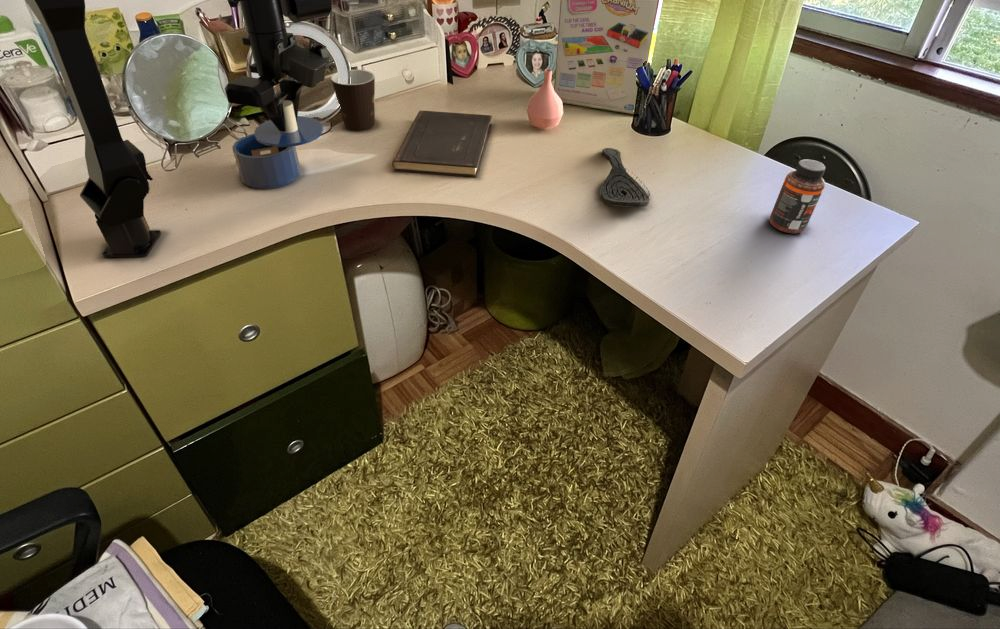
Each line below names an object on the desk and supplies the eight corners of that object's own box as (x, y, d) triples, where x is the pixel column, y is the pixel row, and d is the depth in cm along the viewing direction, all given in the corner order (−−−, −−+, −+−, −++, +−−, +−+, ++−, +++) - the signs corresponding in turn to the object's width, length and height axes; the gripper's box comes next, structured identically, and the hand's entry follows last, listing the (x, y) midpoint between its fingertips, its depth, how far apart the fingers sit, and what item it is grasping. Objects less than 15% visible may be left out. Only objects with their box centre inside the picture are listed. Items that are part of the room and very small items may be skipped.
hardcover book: (491, 125, 125) (491, 115, 124) (476, 177, 108) (476, 166, 107) (418, 120, 126) (417, 110, 125) (392, 171, 109) (391, 159, 108)
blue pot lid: (317, 150, 96) (311, 117, 92) (248, 150, 95) (238, 117, 91) (328, 122, 104) (323, 90, 100) (264, 121, 103) (256, 90, 99)
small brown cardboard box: (285, 175, 106) (280, 155, 103) (259, 179, 104) (253, 159, 102) (281, 165, 109) (277, 145, 106) (256, 169, 107) (250, 149, 105)
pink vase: (538, 116, 129) (542, 61, 121) (568, 126, 126) (574, 69, 118) (518, 128, 124) (521, 71, 116) (549, 138, 121) (554, 80, 113)
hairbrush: (630, 138, 116) (658, 198, 96) (627, 156, 118) (654, 217, 99) (589, 138, 116) (609, 197, 96) (586, 155, 118) (606, 217, 98)
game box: (643, 108, 134) (669, -26, 116) (639, 117, 130) (665, -20, 112) (557, 93, 139) (569, -37, 121) (550, 101, 136) (562, -31, 117)
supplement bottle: (801, 239, 96) (829, 177, 88) (764, 228, 98) (788, 166, 90) (808, 222, 100) (835, 162, 92) (772, 212, 102) (796, 152, 94)
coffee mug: (371, 135, 120) (365, 86, 113) (332, 130, 121) (323, 82, 114) (390, 113, 129) (385, 66, 122) (353, 109, 130) (347, 62, 123)
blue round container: (294, 188, 103) (287, 157, 99) (234, 189, 103) (225, 158, 99) (305, 161, 111) (299, 131, 107) (249, 161, 110) (241, 131, 106)
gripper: (278, 54, 80) (301, 159, 90) (343, 18, 93) (356, 113, 103) (208, 44, 82) (238, 147, 92) (282, 10, 95) (301, 104, 106)
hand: (288, 127), depth 98 cm, fingers closed on blue pot lid, 3 cm apart
